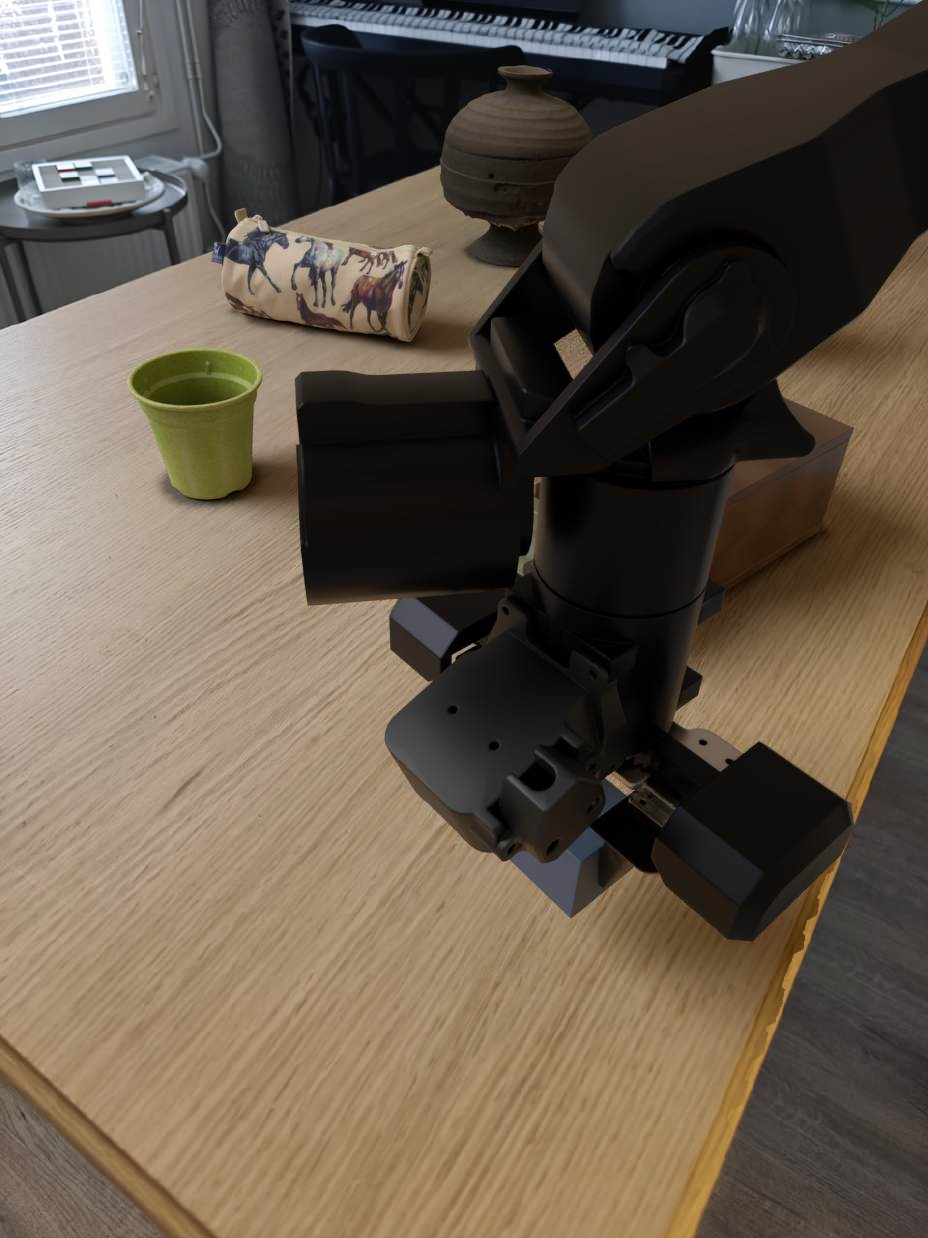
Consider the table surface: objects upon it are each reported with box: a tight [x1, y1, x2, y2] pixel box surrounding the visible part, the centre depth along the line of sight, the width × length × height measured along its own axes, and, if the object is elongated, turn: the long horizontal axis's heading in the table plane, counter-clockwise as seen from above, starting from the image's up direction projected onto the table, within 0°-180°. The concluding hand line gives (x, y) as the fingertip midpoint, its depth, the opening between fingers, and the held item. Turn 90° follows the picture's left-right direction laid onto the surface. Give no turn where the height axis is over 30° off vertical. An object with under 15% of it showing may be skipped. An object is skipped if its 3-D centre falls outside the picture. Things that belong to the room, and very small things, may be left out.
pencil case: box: [210, 207, 434, 343], centre depth 92 cm, size 22×8×10 cm, turn 70°
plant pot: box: [126, 347, 263, 500], centre depth 69 cm, size 9×9×9 cm
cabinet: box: [708, 396, 855, 591], centre depth 65 cm, size 15×12×9 cm
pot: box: [439, 64, 593, 267], centre depth 107 cm, size 18×18×20 cm
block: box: [509, 777, 635, 919], centre depth 40 cm, size 4×4×4 cm
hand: (572, 848), depth 41 cm, fingers closed on block, 4 cm apart
